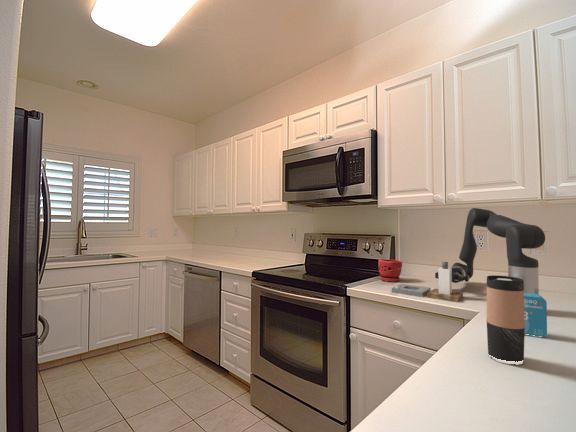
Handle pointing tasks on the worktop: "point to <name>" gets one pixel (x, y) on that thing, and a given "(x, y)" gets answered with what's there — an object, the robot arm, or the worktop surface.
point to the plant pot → (389, 269)
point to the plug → (445, 279)
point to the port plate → (411, 290)
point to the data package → (535, 315)
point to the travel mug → (505, 317)
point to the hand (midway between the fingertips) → (448, 278)
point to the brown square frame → (445, 295)
